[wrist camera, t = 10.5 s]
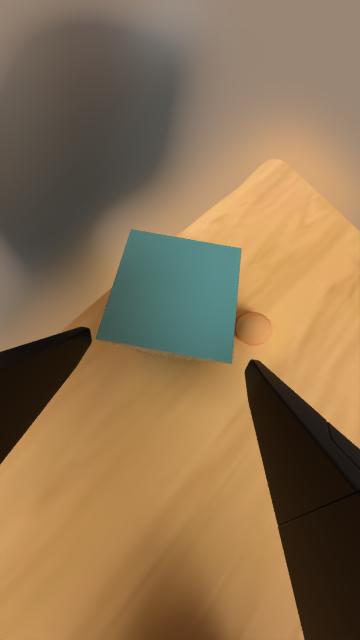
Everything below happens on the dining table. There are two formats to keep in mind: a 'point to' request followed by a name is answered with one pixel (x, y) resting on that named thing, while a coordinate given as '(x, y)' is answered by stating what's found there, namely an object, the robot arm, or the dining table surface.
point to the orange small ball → (253, 328)
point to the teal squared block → (174, 298)
